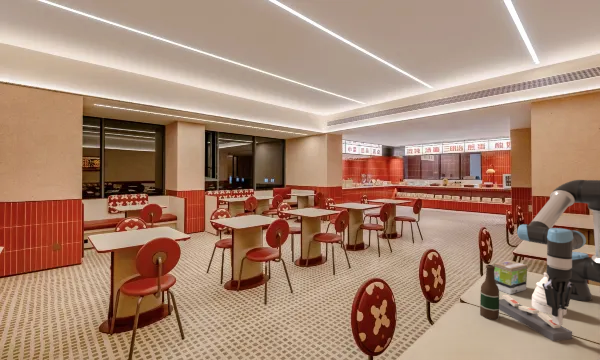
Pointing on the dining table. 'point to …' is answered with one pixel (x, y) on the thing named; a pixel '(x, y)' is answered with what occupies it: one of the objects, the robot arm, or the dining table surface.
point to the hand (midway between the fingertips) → (557, 323)
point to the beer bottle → (489, 295)
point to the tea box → (510, 276)
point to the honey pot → (542, 297)
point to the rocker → (511, 300)
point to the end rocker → (548, 320)
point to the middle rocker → (528, 309)
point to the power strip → (535, 322)
